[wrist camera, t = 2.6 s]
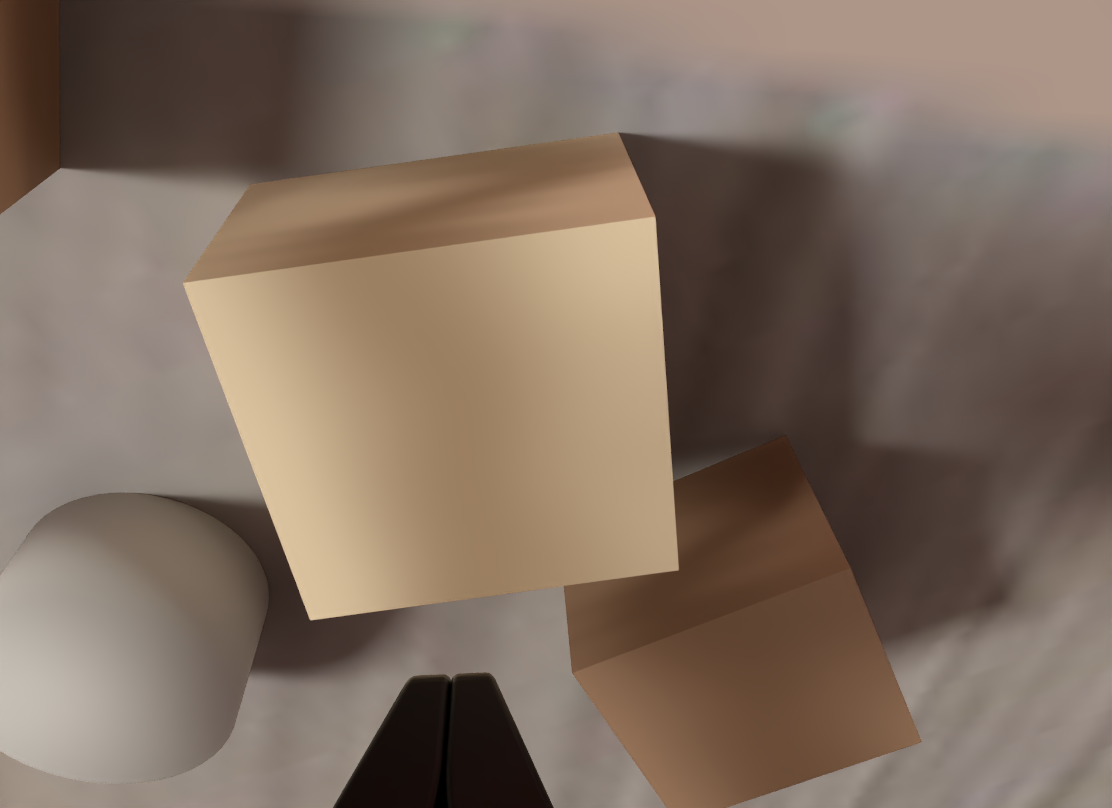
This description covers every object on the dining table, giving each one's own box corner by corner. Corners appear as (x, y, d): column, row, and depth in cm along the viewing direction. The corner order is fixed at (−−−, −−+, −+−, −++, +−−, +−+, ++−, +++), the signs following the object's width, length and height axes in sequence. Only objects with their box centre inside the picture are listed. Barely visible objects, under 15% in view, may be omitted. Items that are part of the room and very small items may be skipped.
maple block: (616, 129, 15) (655, 216, 11) (642, 431, 18) (678, 570, 14) (253, 180, 15) (182, 282, 11) (343, 473, 18) (310, 620, 15)
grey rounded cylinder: (247, 484, 18) (207, 592, 15) (287, 660, 21) (258, 777, 18) (-14, 494, 18) (-98, 604, 15) (61, 671, 20) (-1, 790, 18)
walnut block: (783, 431, 18) (850, 568, 15) (850, 593, 21) (921, 741, 17) (557, 524, 19) (571, 673, 16) (648, 668, 21) (678, 823, 18)
